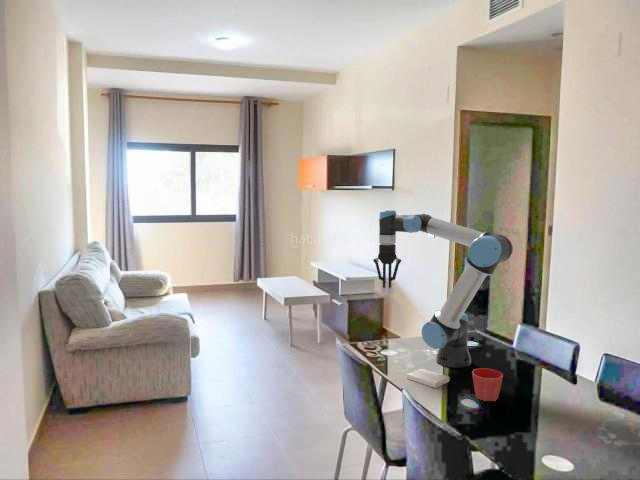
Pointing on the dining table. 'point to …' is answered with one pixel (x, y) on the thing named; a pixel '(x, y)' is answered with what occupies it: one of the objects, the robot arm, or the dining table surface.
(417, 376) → the tile
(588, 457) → the dining table surface
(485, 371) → the flower pot
